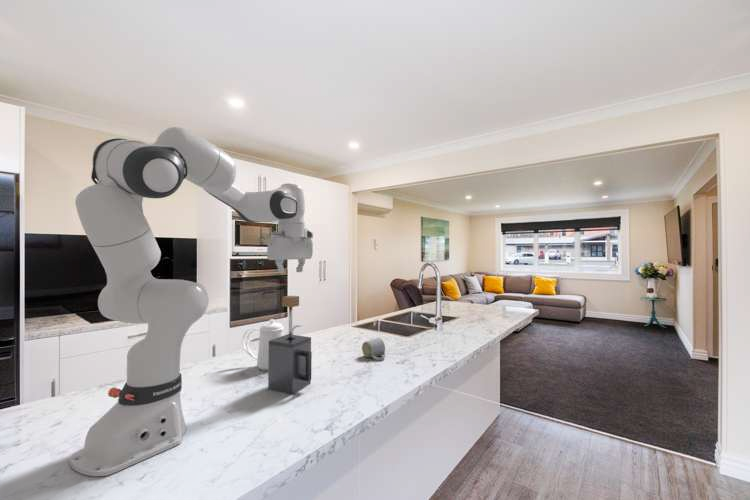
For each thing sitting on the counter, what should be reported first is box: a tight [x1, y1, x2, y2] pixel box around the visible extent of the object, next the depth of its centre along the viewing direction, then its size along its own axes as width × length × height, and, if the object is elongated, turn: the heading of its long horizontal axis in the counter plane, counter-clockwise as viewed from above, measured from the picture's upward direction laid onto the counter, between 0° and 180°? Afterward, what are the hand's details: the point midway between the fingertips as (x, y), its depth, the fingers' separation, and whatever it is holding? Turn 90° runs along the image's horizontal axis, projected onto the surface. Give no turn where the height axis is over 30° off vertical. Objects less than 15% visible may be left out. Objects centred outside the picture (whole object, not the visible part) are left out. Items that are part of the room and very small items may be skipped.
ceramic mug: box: [361, 337, 386, 362], centre depth 146 cm, size 11×8×8 cm
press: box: [267, 333, 312, 396], centre depth 114 cm, size 10×13×16 cm
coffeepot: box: [242, 319, 304, 371], centre depth 134 cm, size 11×25×19 cm, turn 84°
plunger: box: [281, 295, 300, 340], centre depth 114 cm, size 7×7×19 cm
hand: (290, 272), depth 114 cm, fingers open, 8 cm apart
